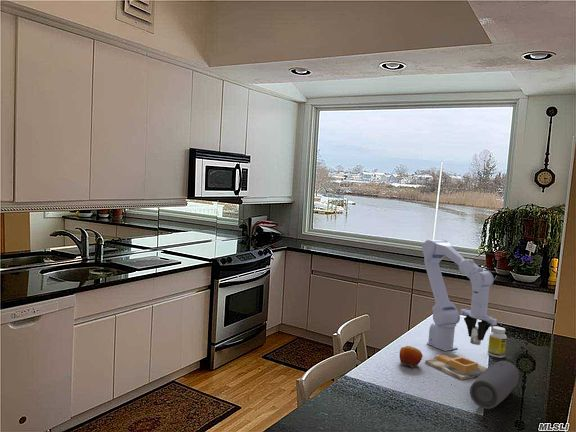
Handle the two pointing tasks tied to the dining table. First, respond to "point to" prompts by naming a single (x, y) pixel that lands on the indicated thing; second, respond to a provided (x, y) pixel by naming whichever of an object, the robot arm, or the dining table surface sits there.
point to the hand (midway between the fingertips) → (475, 338)
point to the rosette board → (453, 371)
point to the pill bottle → (497, 342)
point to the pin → (475, 336)
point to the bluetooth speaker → (494, 384)
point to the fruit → (410, 356)
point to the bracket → (459, 363)
